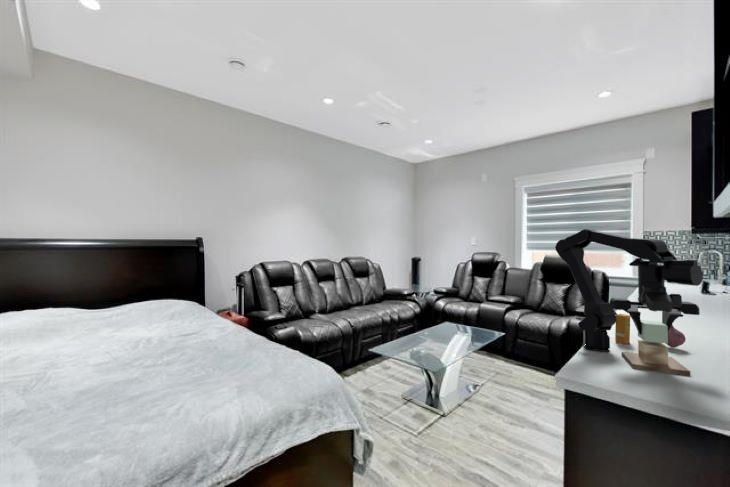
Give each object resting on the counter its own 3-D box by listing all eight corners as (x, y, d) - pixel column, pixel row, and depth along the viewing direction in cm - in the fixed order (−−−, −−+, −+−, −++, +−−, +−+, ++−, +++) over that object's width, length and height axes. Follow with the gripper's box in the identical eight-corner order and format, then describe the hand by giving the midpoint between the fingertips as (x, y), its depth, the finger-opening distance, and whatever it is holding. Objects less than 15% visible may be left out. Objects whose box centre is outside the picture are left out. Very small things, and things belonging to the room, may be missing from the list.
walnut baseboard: (632, 368, 89) (632, 364, 89) (621, 355, 100) (621, 351, 100) (690, 375, 84) (690, 371, 84) (671, 361, 94) (671, 357, 94)
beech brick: (645, 362, 90) (644, 345, 90) (638, 356, 96) (638, 339, 96) (668, 365, 88) (667, 347, 88) (660, 358, 93) (659, 341, 94)
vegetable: (655, 345, 110) (654, 316, 110) (675, 345, 109) (674, 317, 109) (669, 350, 104) (668, 320, 104) (690, 351, 103) (689, 321, 103)
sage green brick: (644, 341, 90) (644, 323, 90) (637, 335, 96) (637, 319, 96) (667, 343, 88) (667, 325, 88) (659, 337, 94) (659, 321, 94)
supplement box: (626, 344, 111) (625, 316, 111) (615, 341, 114) (614, 314, 114) (631, 343, 112) (630, 315, 113) (619, 340, 116) (619, 313, 116)
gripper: (618, 283, 89) (619, 338, 89) (709, 286, 81) (710, 347, 81) (609, 279, 99) (609, 329, 99) (689, 282, 91) (690, 336, 91)
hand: (652, 335), depth 92 cm, fingers closed on sage green brick, 5 cm apart
